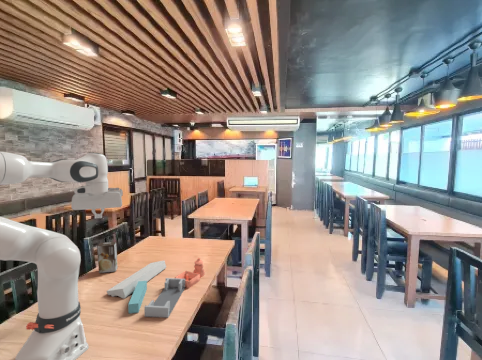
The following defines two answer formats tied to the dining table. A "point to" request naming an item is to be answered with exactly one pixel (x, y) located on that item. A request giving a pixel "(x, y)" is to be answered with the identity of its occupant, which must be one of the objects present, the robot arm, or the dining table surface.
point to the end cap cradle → (166, 299)
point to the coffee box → (107, 257)
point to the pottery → (193, 274)
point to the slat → (137, 297)
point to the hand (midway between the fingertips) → (98, 218)
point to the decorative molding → (136, 279)
